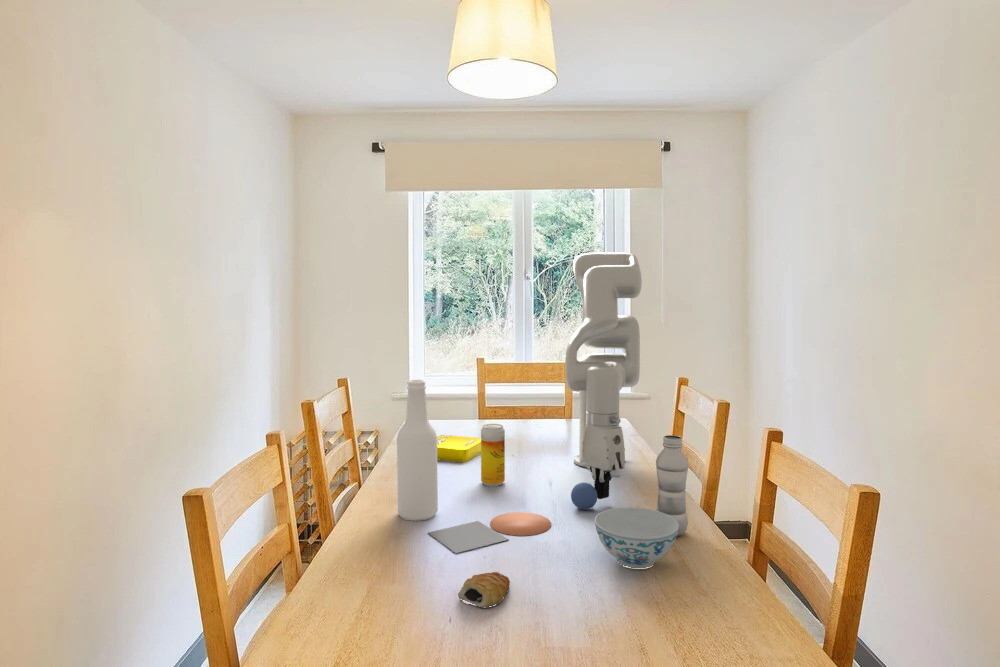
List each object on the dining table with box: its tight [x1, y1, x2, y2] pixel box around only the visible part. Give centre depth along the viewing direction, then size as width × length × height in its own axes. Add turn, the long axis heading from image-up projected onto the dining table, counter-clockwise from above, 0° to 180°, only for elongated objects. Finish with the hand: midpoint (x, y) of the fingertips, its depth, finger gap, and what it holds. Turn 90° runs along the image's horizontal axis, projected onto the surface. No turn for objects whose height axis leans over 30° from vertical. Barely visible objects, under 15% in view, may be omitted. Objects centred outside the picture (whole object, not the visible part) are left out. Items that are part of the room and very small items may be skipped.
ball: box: [570, 482, 598, 511], centre depth 144 cm, size 6×6×6 cm
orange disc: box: [489, 511, 552, 537], centre depth 135 cm, size 13×13×1 cm
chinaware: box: [594, 506, 679, 568], centre depth 116 cm, size 15×15×8 cm
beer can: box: [480, 423, 506, 487], centre depth 163 cm, size 6×6×15 cm
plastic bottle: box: [655, 434, 689, 537], centre depth 129 cm, size 6×7×20 cm
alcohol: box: [396, 379, 439, 522], centre depth 140 cm, size 9×9×30 cm
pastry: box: [457, 571, 511, 609], centre depth 104 cm, size 9×7×4 cm
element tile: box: [437, 434, 481, 463], centre depth 192 cm, size 15×15×5 cm
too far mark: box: [427, 520, 510, 555], centre depth 128 cm, size 12×12×1 cm
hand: (601, 497), depth 147 cm, fingers closed
